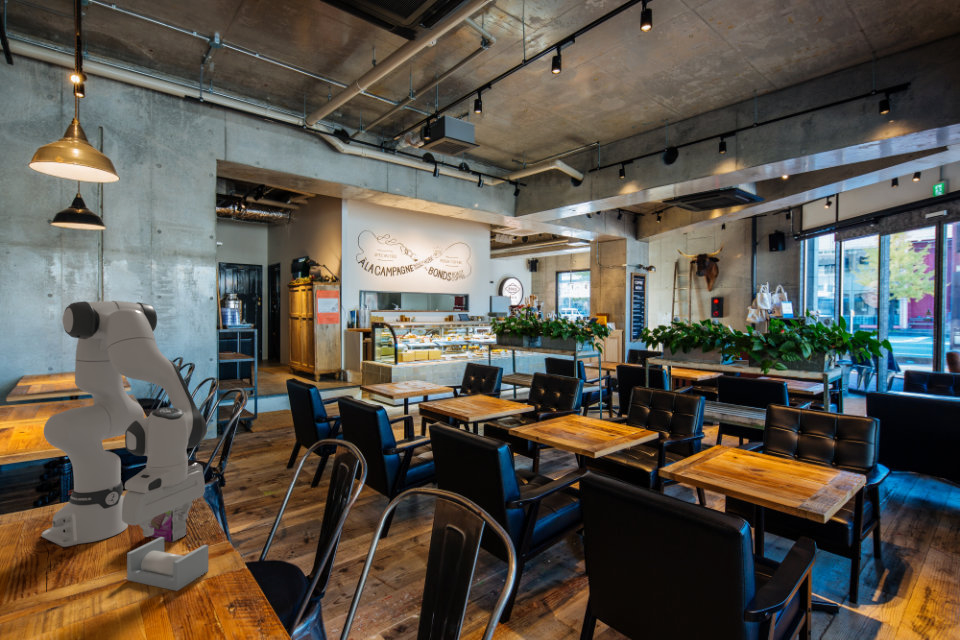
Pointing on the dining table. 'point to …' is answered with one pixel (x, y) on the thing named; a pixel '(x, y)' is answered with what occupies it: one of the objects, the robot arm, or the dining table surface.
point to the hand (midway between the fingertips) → (166, 527)
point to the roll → (159, 563)
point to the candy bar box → (169, 525)
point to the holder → (182, 568)
